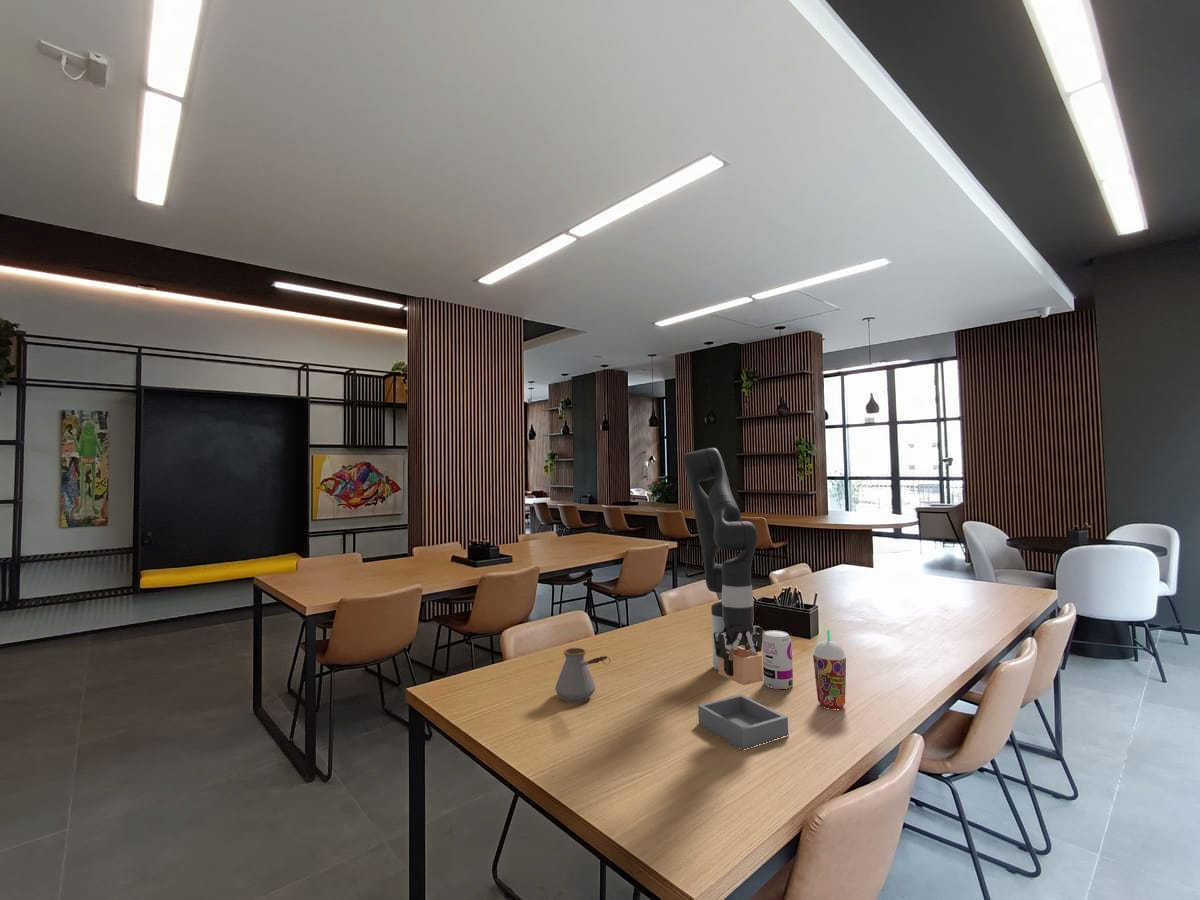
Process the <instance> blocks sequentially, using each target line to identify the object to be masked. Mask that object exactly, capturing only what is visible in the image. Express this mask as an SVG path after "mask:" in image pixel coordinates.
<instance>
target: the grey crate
mask: <svg viewBox="0 0 1200 900" xmlns="http://www.w3.org/2000/svg"><path fill="white" fill-rule="evenodd" d="M697 707H698V709H697V711H698V712H697V713H698V725H700V726H702V727H703V726H704V727H703V728H704V729H706V728H707V729H706V730H708V729H709V730H708V731H710V732H711V731H712V733H713V732H714V733H715V735H716V734H717V735H716V736H717V737H719V736H720V737H719V738H721V737H722V738H723V740H724V739H725V740H724V741H726V742H727V741H728V742H727V743H729V742H730V743H731V745H732V744H733V745H732V746H734V745H735V746H736V747H735V746H734V747H735V748H737V747H738V748H737V749H739V748H740V749H742V750H744V749H747V748H751V747H754V746H756V745H759V744H763V743H766V742H769V741H772V740H774V739H777V738H781V737H783V736H787V735H788V736H789V717H788V716H787V715H784V714H782V713H780V712H778V711H776V710H775V709H774V710H773V709H772V708H770V707H768V706H765V705H764V704H761V703H759V702H758V701H756V700H754V699H752V698H750V697H747V696H745V695H744V694H738V695H734V696H730V697H726V698H721V699H717V700H714V701H710V702H706V703H702V704H698V705H697ZM714 733H713V734H714ZM722 738H721V739H722ZM730 743H729V744H730ZM754 748H755V747H754ZM740 749H739V750H740ZM751 749H752V748H751ZM742 750H741V751H742Z"/></svg>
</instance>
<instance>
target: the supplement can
mask: <svg viewBox="0 0 1200 900" xmlns="http://www.w3.org/2000/svg"><path fill="white" fill-rule="evenodd" d="M792 648H793V647H792V638H791V637H790V634H789V633H788V632H786V631H782V630H775V629H774V630H766V631H763V637H762V672H763V683H764V684H765V685H766V686H767V687H768V686H769V687H772V688H776V689H775V690H777V689H786V688H789V687H791V688H792V687H793V685H794V676H793V675H794V674H793V672H794V671H793V649H792ZM769 687H768V688H769ZM772 688H771V689H772ZM789 689H790V688H789ZM786 690H787V689H786Z"/></svg>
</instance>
